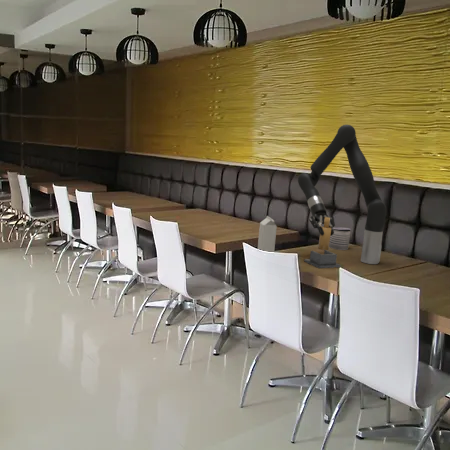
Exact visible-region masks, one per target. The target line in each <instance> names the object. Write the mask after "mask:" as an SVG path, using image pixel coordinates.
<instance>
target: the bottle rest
mask: <svg viewBox="0 0 450 450" xmlns="http://www.w3.org/2000/svg"><path fill="white" fill-rule="evenodd" d="M309 255H310V256H309V258H305V259H304V262H305V263H306V264H309V265H311V266H313V267H315V268H318V269H334V267H336V268H341V266H342V265H341V264H339V263H337V259H338V253H334V252H333V251H330V250H323V254H321V253H319V252H317V251H314V250H310V254H309Z"/></svg>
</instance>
